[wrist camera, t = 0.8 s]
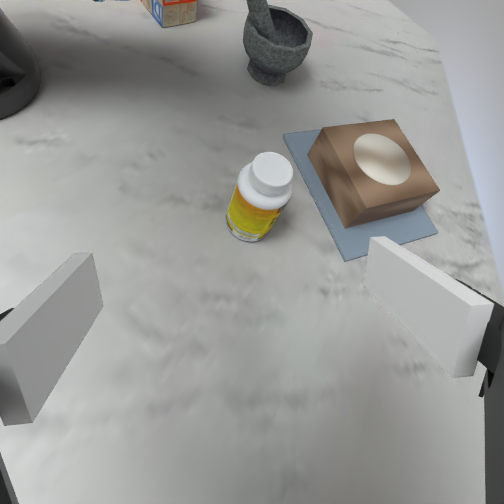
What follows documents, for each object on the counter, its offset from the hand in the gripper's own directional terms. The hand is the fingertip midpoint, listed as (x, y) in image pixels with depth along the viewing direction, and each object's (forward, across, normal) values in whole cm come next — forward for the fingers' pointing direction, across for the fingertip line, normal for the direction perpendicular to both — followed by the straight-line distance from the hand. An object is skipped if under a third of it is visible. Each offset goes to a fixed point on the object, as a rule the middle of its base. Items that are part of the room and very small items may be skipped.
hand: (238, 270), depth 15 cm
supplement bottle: (+23, +3, -4) cm, 24 cm away
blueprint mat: (+30, +19, -1) cm, 35 cm away
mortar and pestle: (+43, +8, +15) cm, 46 cm away
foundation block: (+29, +20, -1) cm, 35 cm away
